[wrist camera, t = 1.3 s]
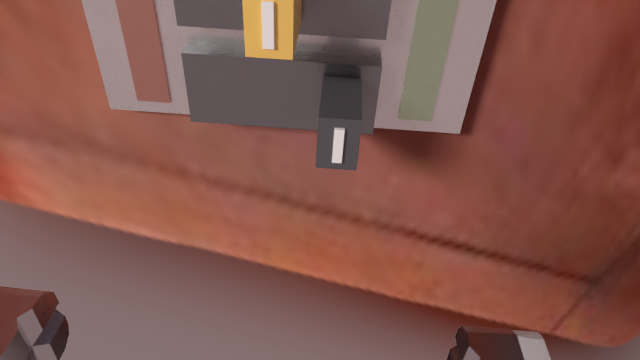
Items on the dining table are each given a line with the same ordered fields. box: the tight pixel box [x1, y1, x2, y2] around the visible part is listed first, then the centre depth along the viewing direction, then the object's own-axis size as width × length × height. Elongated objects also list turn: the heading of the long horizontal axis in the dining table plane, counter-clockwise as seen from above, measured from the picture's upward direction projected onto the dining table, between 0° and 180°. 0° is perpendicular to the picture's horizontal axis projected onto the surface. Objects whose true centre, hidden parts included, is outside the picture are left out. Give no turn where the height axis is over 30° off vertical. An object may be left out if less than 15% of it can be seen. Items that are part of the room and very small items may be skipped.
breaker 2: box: [316, 76, 362, 170], centre depth 30 cm, size 4×2×5 cm
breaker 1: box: [242, 0, 302, 60], centre depth 26 cm, size 4×2×5 cm
